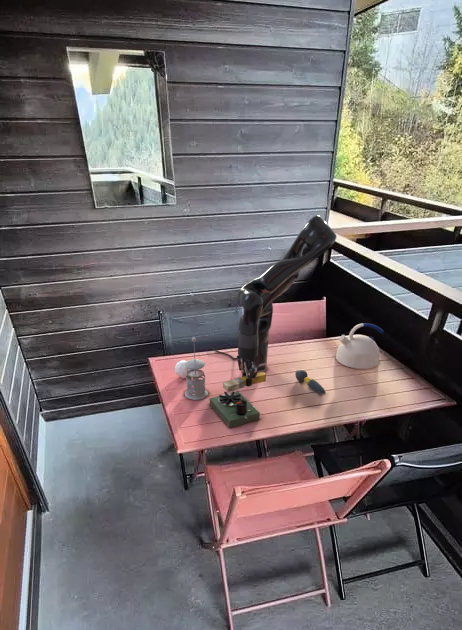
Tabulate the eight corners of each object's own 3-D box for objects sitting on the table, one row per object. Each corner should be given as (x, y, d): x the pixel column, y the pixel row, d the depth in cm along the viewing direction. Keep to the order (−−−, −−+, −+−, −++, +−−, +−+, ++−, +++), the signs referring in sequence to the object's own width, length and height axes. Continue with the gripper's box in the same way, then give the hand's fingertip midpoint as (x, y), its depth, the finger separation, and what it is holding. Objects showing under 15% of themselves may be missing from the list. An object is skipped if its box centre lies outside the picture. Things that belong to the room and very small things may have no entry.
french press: (190, 402, 179) (187, 344, 164) (179, 389, 187) (175, 333, 172) (211, 396, 183) (210, 340, 168) (200, 383, 191) (198, 329, 176)
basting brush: (227, 392, 168) (227, 385, 167) (222, 387, 171) (222, 380, 170) (266, 382, 175) (267, 375, 173) (261, 377, 178) (261, 371, 176)
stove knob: (243, 408, 170) (244, 398, 167) (248, 414, 167) (248, 403, 164) (234, 411, 168) (234, 400, 165) (238, 416, 165) (239, 405, 162)
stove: (209, 404, 178) (209, 397, 176) (238, 397, 182) (238, 390, 181) (230, 429, 164) (230, 422, 162) (261, 420, 169) (261, 413, 167)
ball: (189, 382, 198) (197, 372, 192) (173, 380, 193) (180, 370, 187) (186, 368, 201) (194, 358, 195) (170, 365, 196) (178, 355, 190)
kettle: (329, 351, 219) (335, 315, 208) (369, 349, 221) (377, 314, 210) (342, 370, 202) (349, 333, 192) (385, 368, 204) (394, 331, 194)
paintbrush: (330, 393, 186) (332, 382, 183) (322, 396, 183) (324, 386, 180) (297, 375, 198) (298, 365, 195) (289, 378, 196) (290, 368, 193)
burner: (214, 398, 176) (214, 394, 175) (234, 393, 179) (235, 389, 178) (224, 409, 169) (224, 405, 168) (245, 403, 173) (245, 399, 172)
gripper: (230, 338, 167) (230, 378, 177) (248, 352, 157) (247, 394, 167) (247, 334, 170) (246, 374, 180) (266, 348, 160) (264, 390, 170)
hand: (246, 384), depth 173 cm, fingers closed on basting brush, 2 cm apart
